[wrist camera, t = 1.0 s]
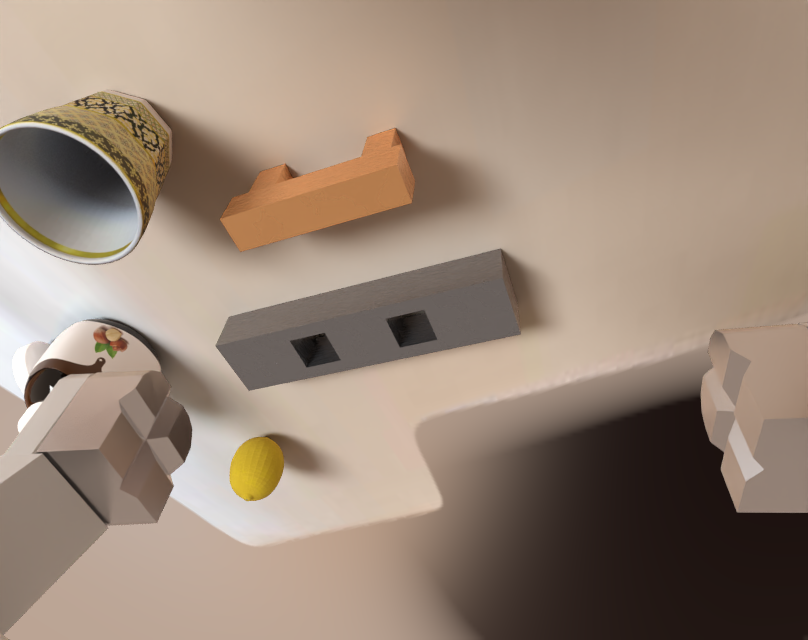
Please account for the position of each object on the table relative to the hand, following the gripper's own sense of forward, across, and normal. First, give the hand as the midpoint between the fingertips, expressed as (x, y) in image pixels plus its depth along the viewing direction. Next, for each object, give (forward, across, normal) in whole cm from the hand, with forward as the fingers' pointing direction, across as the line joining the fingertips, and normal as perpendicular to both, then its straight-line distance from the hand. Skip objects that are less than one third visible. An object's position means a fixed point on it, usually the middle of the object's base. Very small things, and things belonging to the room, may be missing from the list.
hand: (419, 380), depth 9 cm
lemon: (+36, +27, +43) cm, 63 cm away
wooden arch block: (+35, +11, +12) cm, 39 cm away
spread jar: (+36, +40, +28) cm, 61 cm away
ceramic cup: (+35, +27, +7) cm, 45 cm away
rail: (+36, +12, +26) cm, 46 cm away
